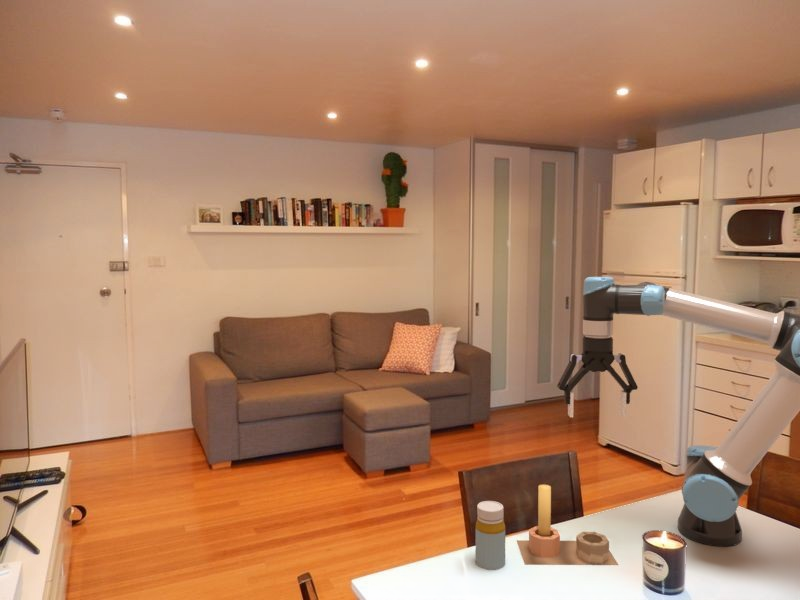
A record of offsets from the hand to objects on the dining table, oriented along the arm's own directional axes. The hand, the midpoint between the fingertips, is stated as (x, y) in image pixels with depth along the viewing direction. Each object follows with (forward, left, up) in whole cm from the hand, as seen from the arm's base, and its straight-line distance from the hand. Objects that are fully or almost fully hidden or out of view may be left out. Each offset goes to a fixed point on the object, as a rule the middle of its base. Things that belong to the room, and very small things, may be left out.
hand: (596, 416), depth 158 cm
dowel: (+16, +12, -30) cm, 36 cm away
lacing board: (+11, +13, -32) cm, 36 cm away
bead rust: (+16, +12, -30) cm, 36 cm away
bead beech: (+5, +15, -30) cm, 34 cm away
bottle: (+30, +18, -32) cm, 47 cm away
